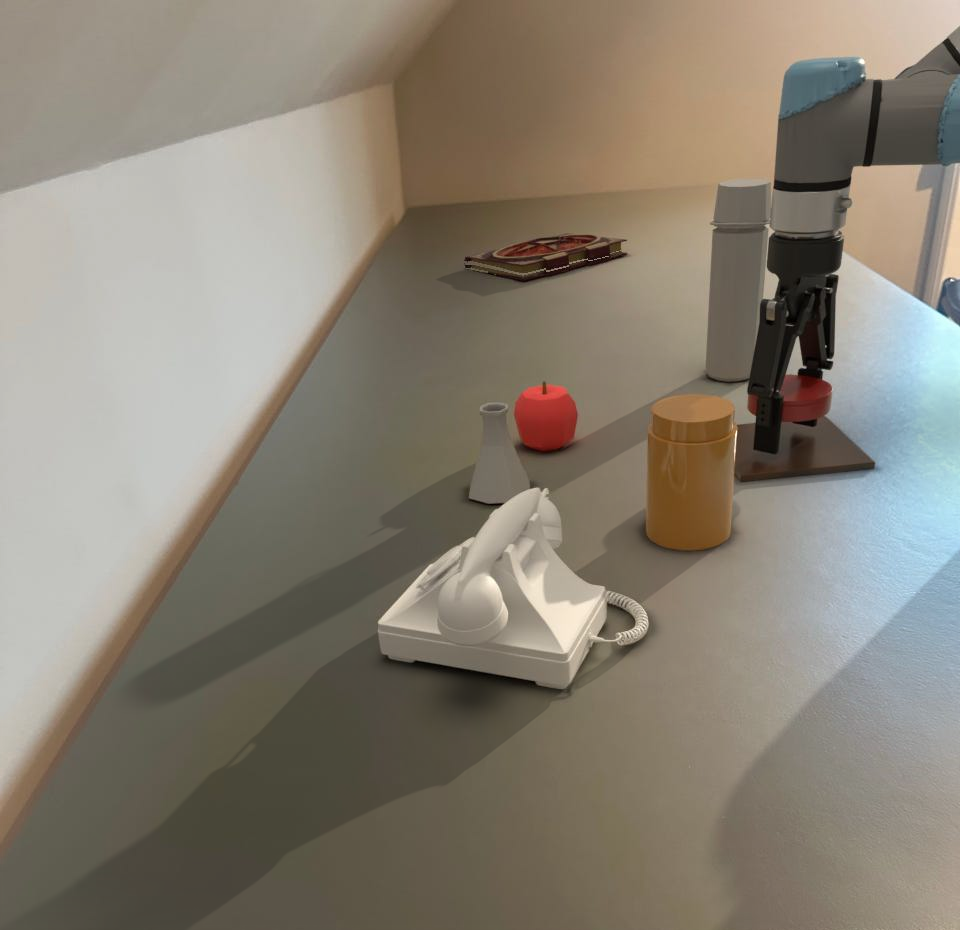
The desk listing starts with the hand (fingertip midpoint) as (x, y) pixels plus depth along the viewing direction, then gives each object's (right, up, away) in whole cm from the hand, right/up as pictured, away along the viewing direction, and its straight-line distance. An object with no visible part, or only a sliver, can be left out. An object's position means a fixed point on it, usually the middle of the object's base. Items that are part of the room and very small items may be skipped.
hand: (785, 437), depth 113 cm
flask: (-33, -7, -3) cm, 34 cm away
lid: (0, +5, -3) cm, 5 cm away
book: (-21, +57, +95) cm, 113 cm away
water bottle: (0, +14, +25) cm, 29 cm away
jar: (-15, -13, -15) cm, 24 cm away
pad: (0, -1, +1) cm, 2 cm away
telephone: (-31, -23, -27) cm, 47 cm away
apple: (-27, +1, +8) cm, 28 cm away
